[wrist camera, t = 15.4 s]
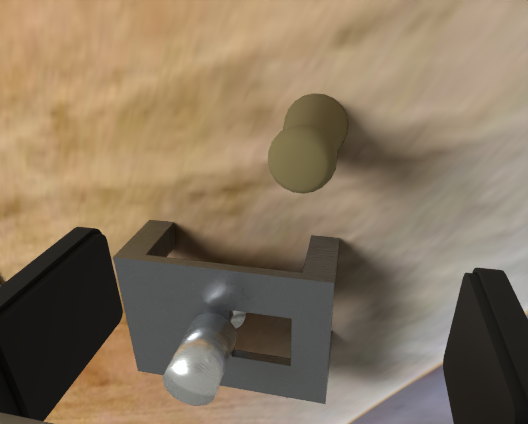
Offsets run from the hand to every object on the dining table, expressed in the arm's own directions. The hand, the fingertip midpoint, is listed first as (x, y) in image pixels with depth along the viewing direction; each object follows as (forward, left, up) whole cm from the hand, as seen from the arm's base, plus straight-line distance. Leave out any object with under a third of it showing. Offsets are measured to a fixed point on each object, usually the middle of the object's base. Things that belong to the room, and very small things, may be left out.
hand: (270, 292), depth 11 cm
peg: (+11, +24, -27) cm, 38 cm away
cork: (+2, +4, -31) cm, 31 cm away
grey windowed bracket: (+10, +24, -30) cm, 40 cm away
